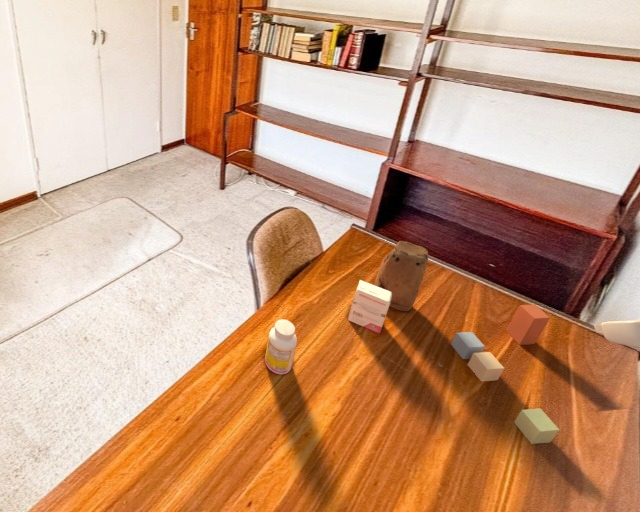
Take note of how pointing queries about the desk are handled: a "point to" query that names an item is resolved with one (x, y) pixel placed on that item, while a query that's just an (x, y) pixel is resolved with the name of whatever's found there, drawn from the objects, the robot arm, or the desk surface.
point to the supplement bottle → (281, 347)
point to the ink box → (370, 306)
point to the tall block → (527, 324)
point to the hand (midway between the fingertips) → (616, 327)
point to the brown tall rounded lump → (402, 274)
